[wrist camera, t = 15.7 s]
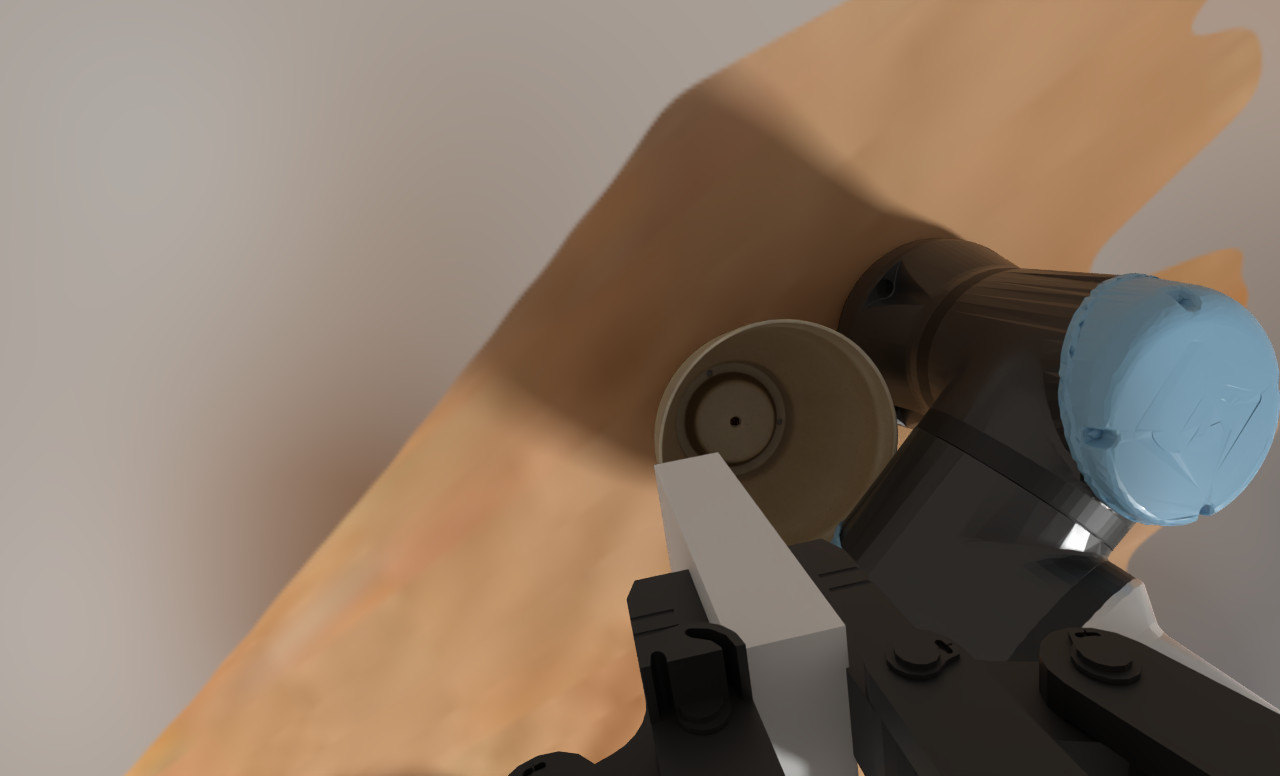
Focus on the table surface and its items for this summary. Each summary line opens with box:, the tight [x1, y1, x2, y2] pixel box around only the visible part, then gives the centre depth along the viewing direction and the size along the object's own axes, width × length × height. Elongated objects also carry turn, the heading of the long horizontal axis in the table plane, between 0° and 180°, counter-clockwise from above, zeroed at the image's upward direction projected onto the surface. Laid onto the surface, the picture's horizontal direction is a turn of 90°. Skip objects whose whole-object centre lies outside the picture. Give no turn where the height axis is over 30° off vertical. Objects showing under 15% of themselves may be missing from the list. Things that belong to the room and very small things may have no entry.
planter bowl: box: [654, 319, 898, 546], centre depth 45 cm, size 16×16×11 cm
